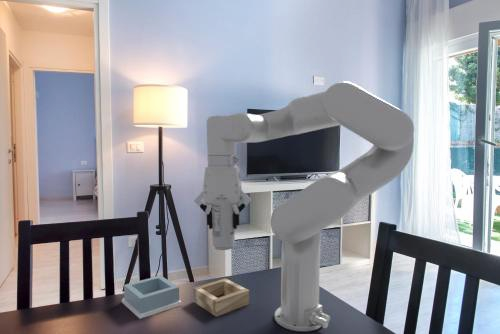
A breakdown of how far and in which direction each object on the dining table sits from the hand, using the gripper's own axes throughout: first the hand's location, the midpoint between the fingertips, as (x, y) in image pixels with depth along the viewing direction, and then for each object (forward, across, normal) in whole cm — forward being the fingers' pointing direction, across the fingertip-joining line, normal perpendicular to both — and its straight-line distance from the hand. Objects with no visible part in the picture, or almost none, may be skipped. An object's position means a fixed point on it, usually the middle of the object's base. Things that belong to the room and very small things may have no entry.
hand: (223, 227), depth 98 cm
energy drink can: (+6, 0, 0) cm, 6 cm away
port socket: (+21, +20, +2) cm, 29 cm away
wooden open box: (+21, +1, 0) cm, 22 cm away
